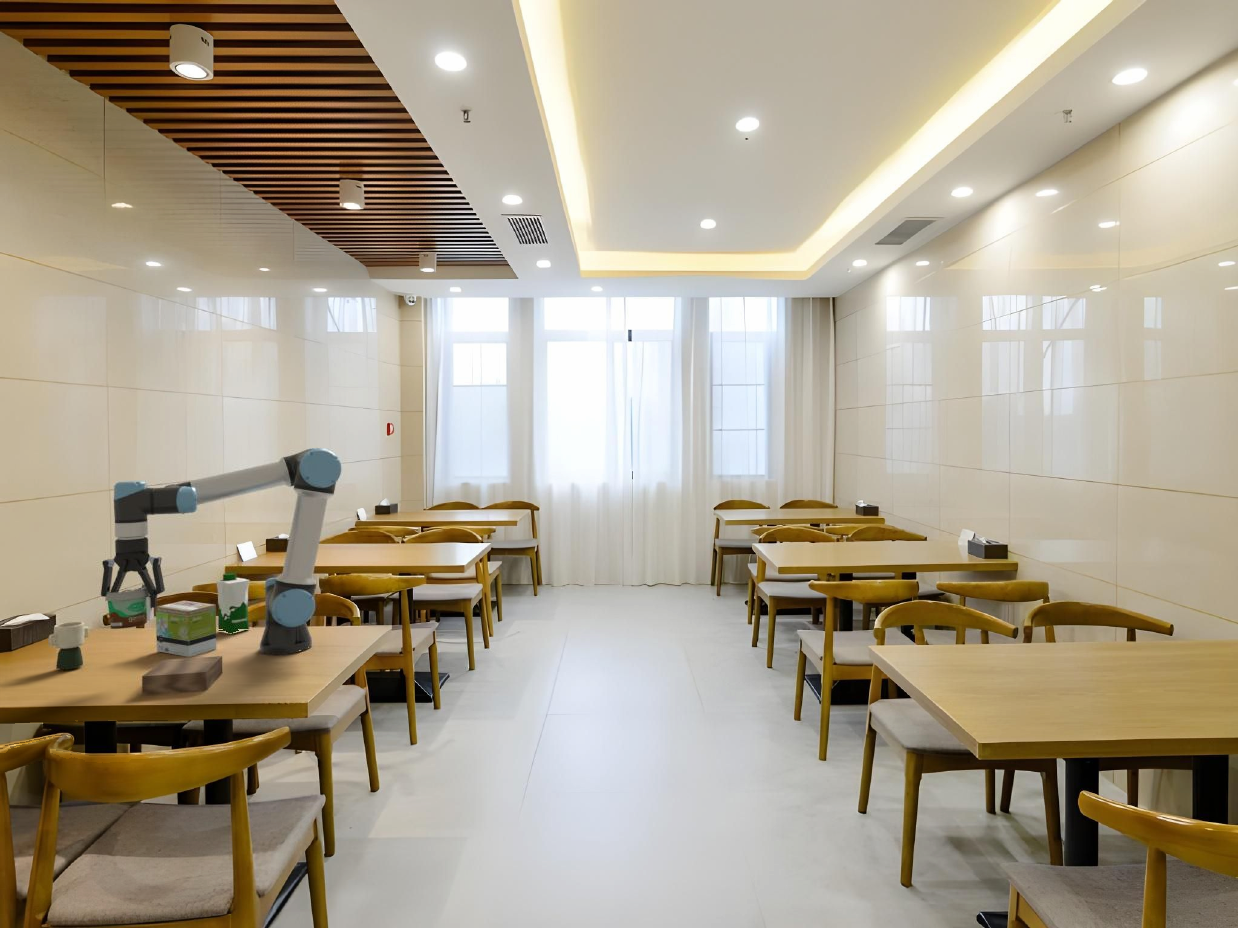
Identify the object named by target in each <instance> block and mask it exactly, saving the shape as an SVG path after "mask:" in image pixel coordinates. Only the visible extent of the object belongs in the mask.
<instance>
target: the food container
mask: <svg viewBox="0 0 1238 928" xmlns="http://www.w3.org/2000/svg"><path fill="white" fill-rule="evenodd" d="M148 596H149V593H148V591H147V589H146V587H145V585H144V583H143V584H141V587H139V588H135V589H125V590H122V591H121V592H117V593H107V595H106V597H105V601H106V602H107V607H108V613H109V614H108V615H109V616H108V617H109V623H110V629H111V630H112V629H113V630H119V629H129V628H135V627H136V628H137V627H140V626H143V625H146V624H147V623H148V621H147V601H146V597H148Z"/></svg>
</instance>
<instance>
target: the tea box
mask: <svg viewBox="0 0 1238 928" xmlns="http://www.w3.org/2000/svg"><path fill="white" fill-rule="evenodd" d="M216 605H217V604H214V603H213V604H212V603H203V602H196V601H188V600H181V601H180V600H179V601H177V602H172V603H168V604H163V605H157V607H155V619H156V620H155V626H156V627H155V628H156V632H155V633H156V652H159V653H160V652H161V653H166V654H172V655H176V656H181V657H185V658H193V657H194V656H197V655H198V656H199V655H202V654H205V653H209V652H211V651H214V650H216V649H217V607H216Z"/></svg>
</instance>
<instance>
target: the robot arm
mask: <svg viewBox="0 0 1238 928" xmlns="http://www.w3.org/2000/svg"><path fill="white" fill-rule="evenodd" d="M341 475H342V464H341V460H340V458H339V457H338V456H337V455H336V454H335V453H334V452H332V451H331V450H329V449H326V448H324V447H323V448H321V447H320V448H318V447H315V448H308V449H305V450H302V451H300V452H297V453H295V454H291V455H287V456H283V457H281V458H280V459H279V461H276V462H271V463H267V464H266V463H265V464H263V465H257V466H252V467H247V468H243V469H238V470H234V471H231V472H225V473H221V474H217V475H212V476H208V477H204V478H198V479H194V480H190V481H184V482H181V483H176V484H175V483H174V484H168V485H166V486H164V487H148V485H147V481H144V480H133V481H132V480H128V481H118V482H116V483H115V484H114V487H113V511H114V513H113V514H114V537H115V538H116V539H115V540H114V545H115V550H114V551H115V555H114V558H108V559H104V560H103V561H102V562H101V563H102V567H103V573H102V574H103V575H102V580H101V581H102V583H101V589H100V596H101V597H105V598H106V595H107V593H117V592H119V591H120V589H121V587H122V585H123V581H124V580H125V577H126V575H127V573H128V572H129V573H130V572H135V573H137V574H138V575H139V577H140V578H141V581H142V583H143V584H144V585H145V587H146V589H147V591H148V593H149V596H148V597H146V601H147V622H148V621H149V622H150V621H152V620H154V618H155V611H154V609H156V607H158V595H161V594H163V593H164V592H165V590H166V589H165V583H164V577H163V573H162V572H163V571H162V568H161V564H162V557H161V556H159V557H154V556H151V555H150V553H149V538H148V537H147V536H148V535H149V531H148V530H149V529H148V527H149V523H148V516H153V515H176V514H177V515H178V514H179V515H180V514H182V515H185V514H190V513H192V514H193V513H195V512H196V511H197V509H198V506H199V505H205V504H208V503H211V502H216V501H221V500H225V499H229V498H234V497H237V496H243V495H246V494H251V493H255V492H261V491H263V490H268V489H272V488H276V487H280V486H281V487H282V486H287V487H289V488H291V487H293V490H294V492H295V493H296V495H297V497H296V502H295V508H294V512H293V517H292V523H291V527H290V533H289V539H288V543H287V548H286V553H285V559H284V563H283V567H282V568H283V569H282V572H281V574H279V575H278V576H276V577H270V578H267V579H266V580H265V583H264V590H265V591H264V593H265V628H264V631H263V633H262V637H261V639H260V642H259V652H260V653H261V652H262V654H264V653H267V654H266V655H284V654H283V653H289V654H293V653H292V652H295V653H298V652H297V651H299V650H303V651H305V650H304V649H306V650H308V649H309V648H308V647H310V646H311V645H313V642H312V641H313V640H312V636H311V633H310V630H309V628H308V625H307V622H308V621H309V620H310V619H311V618H312V617H313V615H314V614H315V610H316V601H315V594H316V589H317V584H318V582H317V581H316V578H314V571H315V566H316V561H317V555H318V551H319V545H320V540H321V537H322V536H321V535H322V529H323V524H324V520H325V519H324V518H325V515H326V508H327V504H328V500H329V499H330V498H331V497H333V496H334V495H335V491H336V487H337V486H336V485H337V482H338V480H339V479H340V477H341ZM148 563H150V565H151V566H152V574H153V579H154V581H153V579H152V578H151V575H150V574H149V573H150V572H149V569H148V567H147V564H148ZM115 564H116V565H117V566H118V570H117V573H116V577H115V579H114V581H113V584H112V578H113V577H112V576H113V571H114V570H113V569H114V566H115ZM111 584H112V586H111ZM311 647H312V646H311ZM311 647H310V648H311ZM307 648H308V649H307ZM299 652H300V651H299Z"/></svg>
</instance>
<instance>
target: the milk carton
mask: <svg viewBox="0 0 1238 928" xmlns="http://www.w3.org/2000/svg"><path fill="white" fill-rule="evenodd" d="M215 582H216V589H217V599H218V600H217V606H218V607H217V608H218V609H217V610H218V611H217V612H218V613H217V614H218V616H217V617H218V624H217V625H218V627H217V628H218V629H223V630H218V631H226V632H228V633H233V632H236V631H239V630H238V629H249V630H250V623H249V586H250V582H251V581H250V579H246V578H242V577H241V578H240V577H237V573H235V572H229V573H223V574H222V579H221V580H216V581H215ZM218 631H217V632H218Z"/></svg>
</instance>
